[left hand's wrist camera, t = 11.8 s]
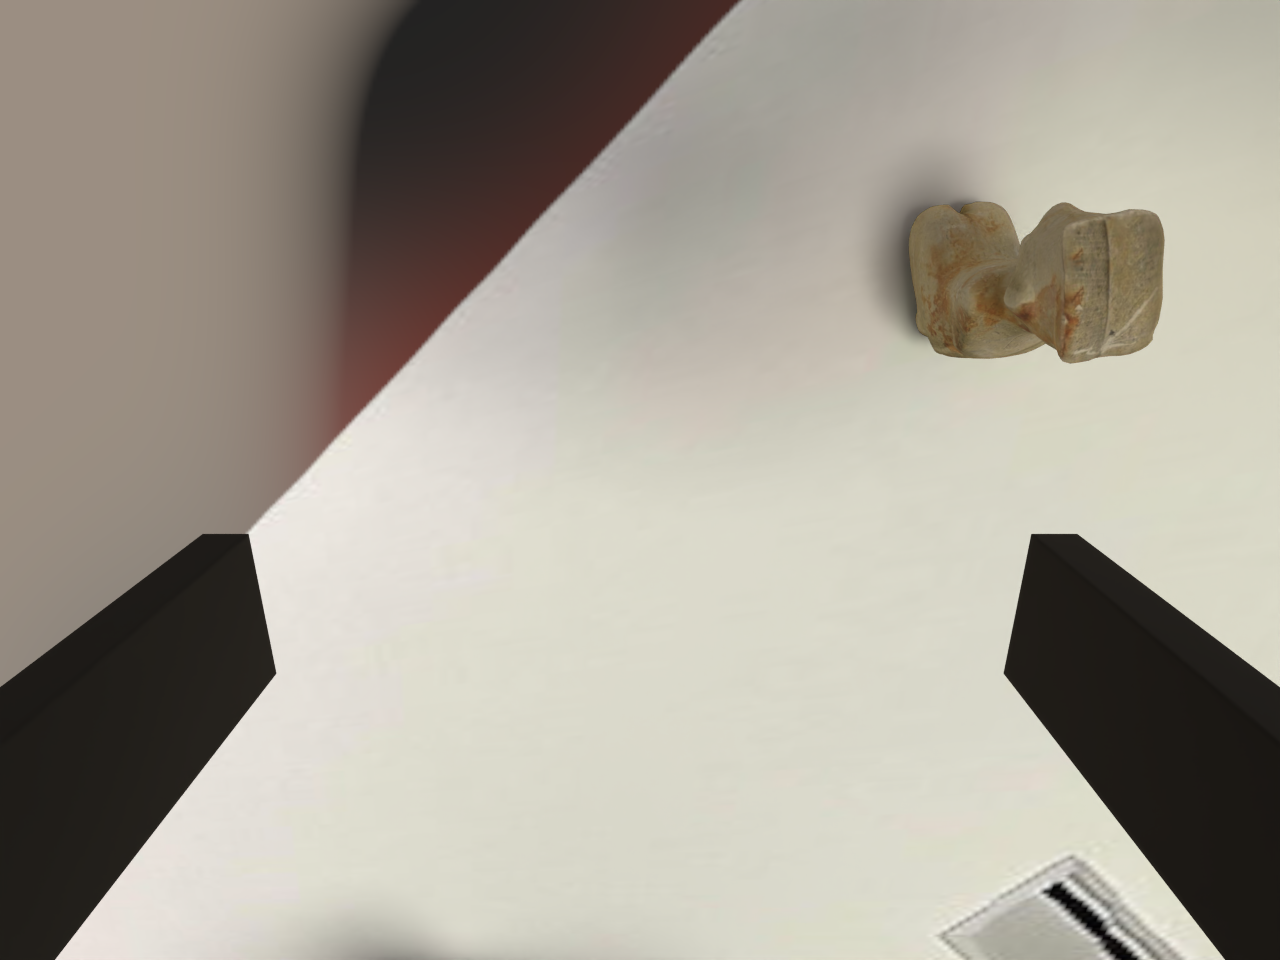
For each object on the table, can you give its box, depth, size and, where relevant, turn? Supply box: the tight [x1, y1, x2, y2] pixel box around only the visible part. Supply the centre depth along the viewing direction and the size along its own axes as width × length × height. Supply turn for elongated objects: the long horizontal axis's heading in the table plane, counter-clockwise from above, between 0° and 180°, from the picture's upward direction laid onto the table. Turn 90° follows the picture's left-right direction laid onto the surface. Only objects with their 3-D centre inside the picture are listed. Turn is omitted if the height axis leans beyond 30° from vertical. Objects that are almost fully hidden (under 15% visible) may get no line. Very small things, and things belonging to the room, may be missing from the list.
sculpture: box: [909, 202, 1164, 363], centre depth 32 cm, size 6×7×15 cm
